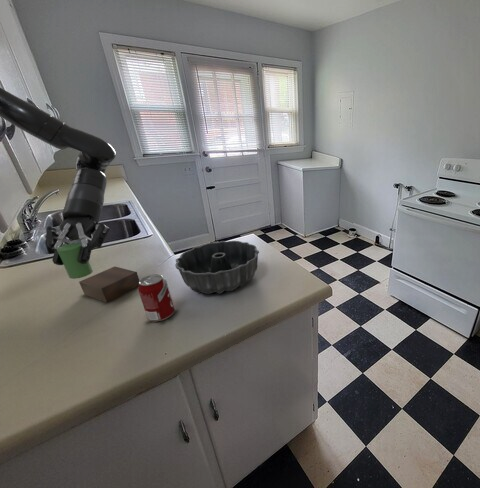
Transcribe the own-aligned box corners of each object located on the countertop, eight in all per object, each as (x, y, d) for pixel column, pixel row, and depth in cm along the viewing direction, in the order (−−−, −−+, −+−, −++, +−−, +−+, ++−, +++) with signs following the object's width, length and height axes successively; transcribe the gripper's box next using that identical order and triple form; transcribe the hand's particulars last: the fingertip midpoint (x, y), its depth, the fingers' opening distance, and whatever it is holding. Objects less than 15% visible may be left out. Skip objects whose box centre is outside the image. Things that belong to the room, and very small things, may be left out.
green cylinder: (76, 280, 68) (63, 251, 65) (65, 276, 70) (52, 248, 67) (97, 271, 72) (86, 244, 69) (85, 268, 74) (74, 241, 71)
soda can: (158, 326, 73) (146, 288, 68) (142, 319, 76) (130, 282, 71) (180, 311, 79) (170, 276, 74) (164, 306, 81) (154, 271, 76)
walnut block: (106, 302, 83) (101, 288, 81) (84, 295, 87) (78, 281, 85) (140, 284, 92) (136, 271, 90) (119, 278, 96) (114, 266, 94)
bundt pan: (208, 260, 109) (204, 237, 105) (271, 265, 105) (269, 241, 101) (163, 298, 85) (155, 270, 81) (242, 306, 81) (238, 277, 77)
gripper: (43, 198, 69) (23, 261, 63) (104, 196, 71) (91, 257, 65) (66, 212, 76) (50, 270, 70) (121, 209, 78) (110, 266, 72)
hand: (70, 263), depth 68 cm, fingers closed on green cylinder, 4 cm apart
